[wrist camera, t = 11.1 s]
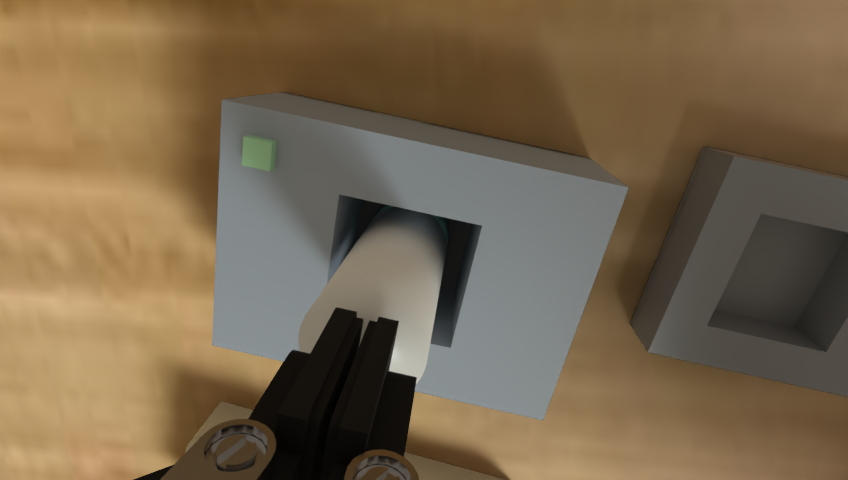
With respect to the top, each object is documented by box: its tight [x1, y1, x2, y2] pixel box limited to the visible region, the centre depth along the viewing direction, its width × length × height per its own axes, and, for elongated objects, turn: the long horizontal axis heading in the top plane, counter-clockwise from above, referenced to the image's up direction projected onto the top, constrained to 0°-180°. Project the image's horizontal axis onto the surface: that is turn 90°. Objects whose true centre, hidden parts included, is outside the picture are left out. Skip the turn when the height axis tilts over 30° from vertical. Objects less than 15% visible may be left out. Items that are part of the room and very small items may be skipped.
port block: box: [212, 92, 629, 420], centre depth 20 cm, size 14×10×6 cm
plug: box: [298, 204, 449, 384], centre depth 17 cm, size 4×4×10 cm
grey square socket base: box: [630, 146, 848, 397], centre depth 20 cm, size 9×9×2 cm
